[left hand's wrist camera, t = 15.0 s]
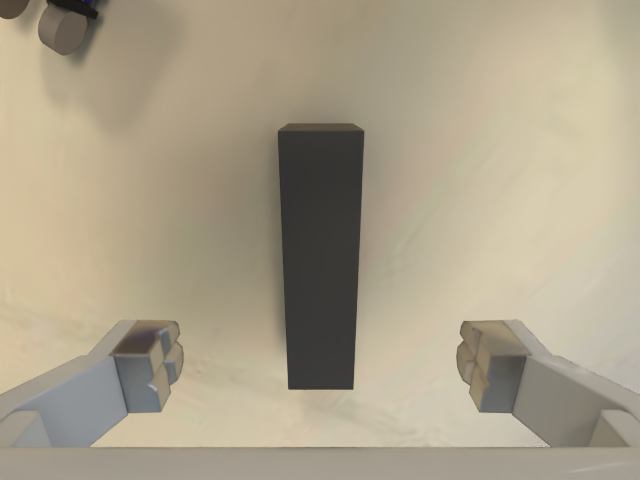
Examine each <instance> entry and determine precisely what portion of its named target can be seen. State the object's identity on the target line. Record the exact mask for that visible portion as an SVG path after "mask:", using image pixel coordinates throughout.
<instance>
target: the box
mask: <svg viewBox="0 0 640 480" xmlns="http://www.w3.org/2000/svg"><path fill="white" fill-rule="evenodd" d="M278 146H279V171H280V195H281V220H282V245H283V269H284V294H285V319H286V343H287V368H288V389H289V390H353V385H354V361H355V338H356V314H357V290H358V267H359V243H360V219H361V196H362V172H363V148H364V130H362V129H360V128H359V127H357V126H356V125H354V124H287V125H286V126H284V127H283V128H281V129H280V130H279V131H278Z"/></svg>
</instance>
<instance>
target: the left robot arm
mask: <svg viewBox="0 0 640 480" xmlns="http://www.w3.org/2000/svg"><path fill="white" fill-rule="evenodd" d="M179 335H180V330H179V326H178V323H177V322H176V321H169V320H122V321H119V322H118V323H117V324H116V325H115V326H114V327H113V328H112V329H111V330H110V331H109V332H108V334H107V335H106V336H105V337H104V338H103V339H102V340H101V341H100V342H99V343H98V344H97V345H96V346H95V348H94V349H93V350H92V351H91V352H90V353H89V354H88V355H87V356H79V357H77V358H75V359H73V360H71V361H69V362H67V363H65V364H63V365H61V366H59V367H57V368H55V369H53V370H50V371H48V372H46V373H44V374H42V375H40V376H38V377H36V378H34V379H32V380H30V381H28V382H26V383H23V384H21V385H19V386H17V387H15V388H13V389H11V390H9V391H7V392H5V393H3V394H1V395H0V480H640V395H639V394H637V393H635V392H633V391H631V390H629V389H627V388H625V387H623V386H621V385H618V384H616V383H614V382H612V381H610V380H608V379H606V378H604V377H602V376H600V375H598V374H596V373H594V372H592V371H589V370H587V369H585V368H583V367H581V366H579V365H577V364H575V363H573V362H571V361H569V360H567V359H565V358H563V357H561V356H553V355H552V354H551V353H550V352H549V351H548V350H547V349H546V348H545V346H544V345H543V344H542V343H541V342H540V341H539V340H538V339H537V338H536V337H535V336H534V335H533V334H532V332H531V331H530V330H529V329H528V328H527V327H526V326H525V325H524V324H523V323H522V322H521V321H519V320H497V321H463V323H462V325H461V330H460V335H461V336H462V338H463V340H464V341H463V342H462V343H461V344H460V345H459V346H458V348H457V356H456V358H457V367H458V371H459V374H460V376H461V378H462V380H463V381H464V382H466V383H467V384H468V385H470V390H469V394H470V396H471V397H472V399H473V401H474V403H475V405H476V407H477V409H478V411H479V412H486V413H512V415H513V416H514V417H515V418H517V419H518V420H519V421H520V422H521V423H523V424H524V425H525V426H526V427H527V428H529V429H530V430H531V431H532V432H534V433H535V434H536V435H537V436H538V437H540V438H541V439H542V440H543V441H544V442H546V443H547V444H548V445H549V446H551V447H90V446H91V445H92V444H93V443H94V442H96V441H97V440H98V439H99V438H100V437H102V436H103V435H104V434H105V433H107V432H108V431H109V430H110V429H111V428H113V427H114V426H115V425H116V424H118V423H119V422H120V421H121V420H122V419H124V418H125V417H126V416H127V415H128V413H153V412H161V411H162V409H163V407H164V405H165V403H166V401H167V399H168V397H169V396H170V394H171V390H170V385H172V384H173V383H174V382H176V381H177V380H178V378H179V376H180V374H181V371H182V366H183V348H182V346H181V345H180V344H179V343H178V342H177V341H176V340H177V338H178V336H179Z"/></svg>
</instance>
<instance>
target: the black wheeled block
mask: <svg viewBox="0 0 640 480" xmlns="http://www.w3.org/2000/svg"><path fill="white" fill-rule="evenodd" d="M46 1H47V3H48V7H47V8H46V9H45V11H44V12H43V14H42V16H41V18H40V22H39V26H38V34H39V38H40V40H41V42H42V43H43V44H45V45H46V46H48V47H50V48H51V49H53V50H54V51H56V52H57V53H59V54H60V55H68V54H70V53H72V52H73V51H74V50H75V49H76V48H77V47H78V46H79V45H80V43H81V42H82V40H83V38H84V35H85V32H86V28H87V26H88V24H89V20H90V18H92V19H95V20H96V18H97V15H98V12H97V11H96V10H94V9H93V8H94V4H95V1H96V0H85V3H84V2H83V1H81V0H46ZM28 3H29V0H0V17H2V18H4V19H13V18H15V17H17V16H19V15H20V14H21V13H22V12H23V11H24V10H25V8H26V7H27V5H28Z"/></svg>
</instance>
